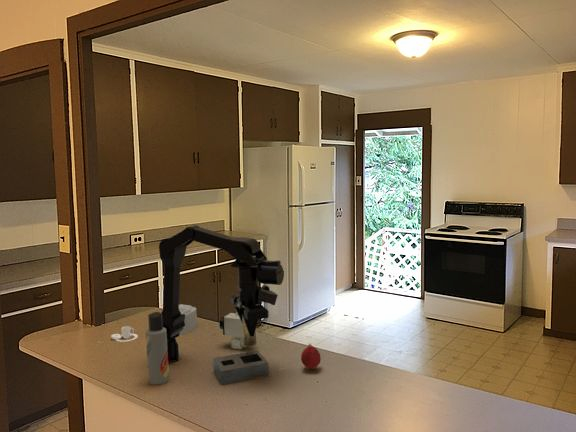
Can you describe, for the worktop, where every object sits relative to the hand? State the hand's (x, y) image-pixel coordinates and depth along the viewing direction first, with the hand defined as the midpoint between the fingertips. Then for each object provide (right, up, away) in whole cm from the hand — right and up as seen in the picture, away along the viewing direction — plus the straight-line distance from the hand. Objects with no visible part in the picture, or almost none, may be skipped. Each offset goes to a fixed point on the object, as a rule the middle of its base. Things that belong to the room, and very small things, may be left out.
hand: (249, 333), depth 145 cm
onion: (+18, -11, +2) cm, 21 cm away
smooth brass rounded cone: (0, -3, 0) cm, 3 cm away
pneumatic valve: (-5, -10, +21) cm, 23 cm away
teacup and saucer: (-49, -10, +34) cm, 61 cm away
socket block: (-3, -12, 0) cm, 12 cm away
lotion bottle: (-26, -13, -3) cm, 29 cm away
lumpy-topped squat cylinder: (-29, -8, +39) cm, 50 cm away
